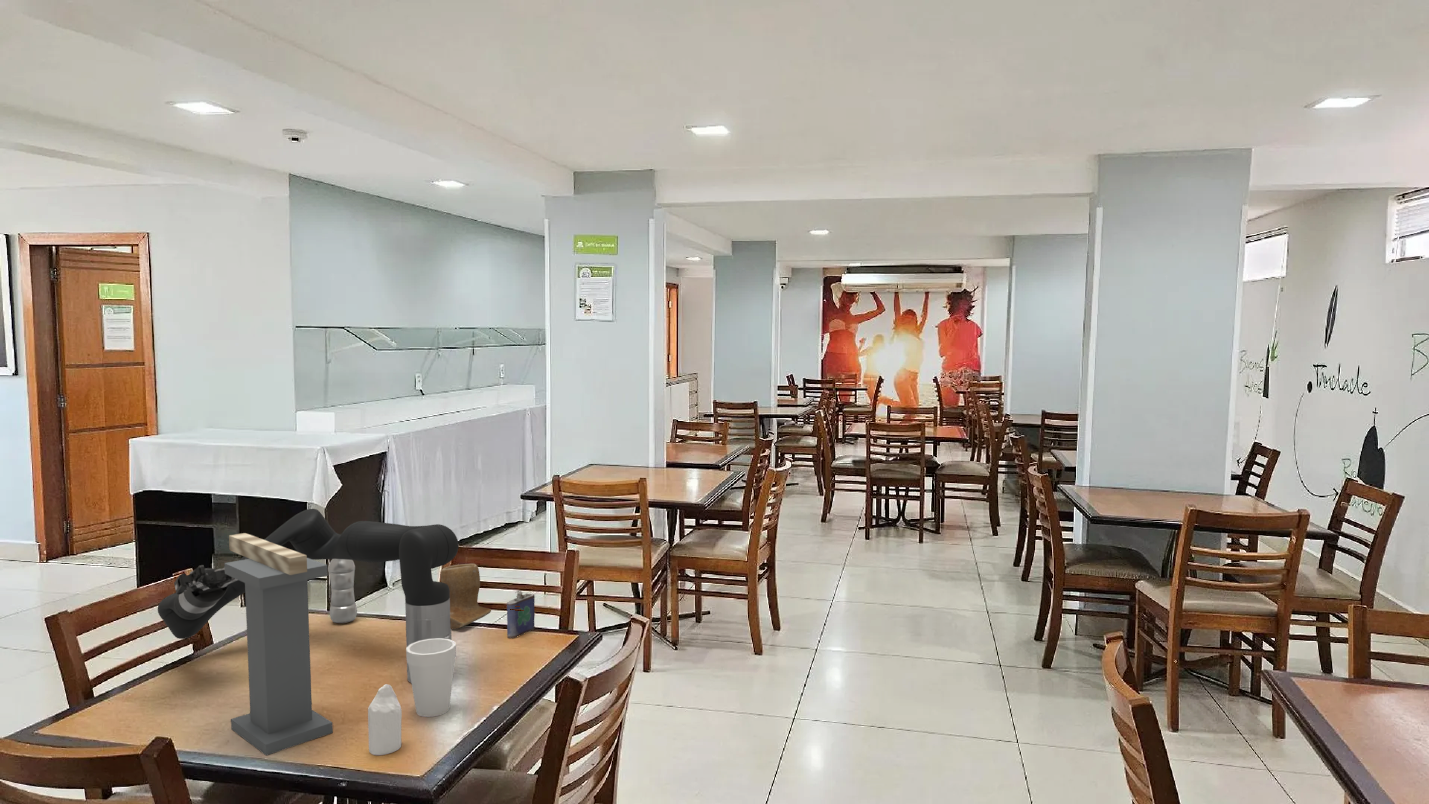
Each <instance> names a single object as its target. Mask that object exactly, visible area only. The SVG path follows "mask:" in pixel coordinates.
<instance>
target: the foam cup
mask: <svg viewBox="0 0 1429 804" xmlns="http://www.w3.org/2000/svg"><path fill="white" fill-rule="evenodd" d="M405 652H406V653H405V654H406V657H405V658H406V659H405V660H406V664H407V663H408V665H409V671H410V677H411V689H412V695H413V700H414V707H415V711H416V714H417V715H418V716H419V717H426V718H431V717H437V716H441V715H443V714H445V713H447V712H448V711H449V710H450V706H451V697H452V690H453V689H452V688H453V680H454V671H455V663H456V657H457V642H456V641H454V640H450V639H443V638H435V639H426V640H421V641H417V642H415V643H412V644H410V645H409V646H408V647H406V648H405Z"/></svg>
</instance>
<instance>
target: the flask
mask: <svg viewBox="0 0 1429 804" xmlns="http://www.w3.org/2000/svg"><path fill="white" fill-rule="evenodd" d="M514 593H515V594H516V598H513V599H511V600H509V601H507V602H506V621H507V622H506V624H507V627H506V631H507V633H506V637H507V639H511V638H512V639H514V638H515V637H516V638H518V637H520V636H519V635H521V636H524V635H525V634H526V633H527V632H528V633H529V632H532V631H534V630H535V627H536V626H535V618H536V617H535V615H536V613H535V602H536V601H535V598H536V597H535V594H532V593H525V594H523V593H524V592H522V590H517V591H516V592H514ZM515 606H520V607H515ZM510 609H521V610H524V611H515V610H510ZM531 630H532V631H531ZM524 633H525V634H524ZM517 636H518V637H517ZM516 638H515V639H516Z"/></svg>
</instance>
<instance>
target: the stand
mask: <svg viewBox="0 0 1429 804" xmlns="http://www.w3.org/2000/svg"><path fill="white" fill-rule="evenodd" d="M238 560H239V561H238ZM238 560H235V561H229V562H224V567H225V574H227V575H229V576H231V577H233V578H235V579H238V580H240V581H242V582H244V583H245V594H244V595H245V617H246V639H247V642H246V645H247V665H248V688H249V690H248V691H249V713H246V714H243V715H240V716H236V717H233V718H231V719H230V726H231V727H230V730H232V731H233V732H234V733H235V734H237V735H238V736H239V737H241V738H243V740H245V741H246V742H248V743H249V744H250V745H251V746H253V747H254V748H255V749H257V750H259V751H260V752H261V753H262V754H263V755H265V756H268V755H271V754H275V753H278V752H280V751H284V750H287V749H289V748H292V747H295V746H298V745H301V744H305V743H307V742H310V741H313V740H315V739H318V738H321V737H324V736H328V735H330V734H333V729H334V728H333V727H334V725H333V722H332V721H331V720H330V719H327V717H325V716H323V715H321V714H320V713H318V712H317V711H315V710H313V707H312V706H313V705H312V704H313V703H312V701H313V700H312V678H311V677H312V676H311V647H310V646H311V642H310V621H309V618H310V617H309V592H308V589H309V588H308V587H309V586H308V580H313V579H318V578H319V579H320V578H323V577H328V576H329V573H328V564H326V563H323V562H320V561H317V560H312V559H309V558H307V572H303V573H298V574H293V575H289V574H286V573H284V572H281V571H279V570H276V569H274V568H271V567H269V566H267V565H264V564H262V563H259V562H257V561H254V560H252V559H245V560H240V559H238Z"/></svg>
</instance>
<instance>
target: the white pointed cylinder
mask: <svg viewBox="0 0 1429 804" xmlns="http://www.w3.org/2000/svg"><path fill="white" fill-rule="evenodd" d="M398 699H399V698H398V697H397V694H396V693H395V691H394V689H393V686H391V684H387V683H386V684H383V686H381V687H379V688H378V690H377V692H376V695H375V696H374V698H373V699H372V701H371V702H370V704H369V705H368V708H367V723H368V724H367V728H368V751H369V754H371V755H373V756H385V755H389V754H392V753H394V752H396V751H399V749H401V747H402V719H403V718H402V706H401V703H400V702H399V700H398Z"/></svg>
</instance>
